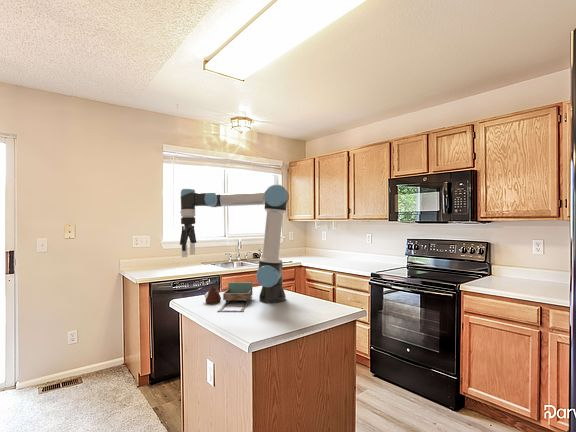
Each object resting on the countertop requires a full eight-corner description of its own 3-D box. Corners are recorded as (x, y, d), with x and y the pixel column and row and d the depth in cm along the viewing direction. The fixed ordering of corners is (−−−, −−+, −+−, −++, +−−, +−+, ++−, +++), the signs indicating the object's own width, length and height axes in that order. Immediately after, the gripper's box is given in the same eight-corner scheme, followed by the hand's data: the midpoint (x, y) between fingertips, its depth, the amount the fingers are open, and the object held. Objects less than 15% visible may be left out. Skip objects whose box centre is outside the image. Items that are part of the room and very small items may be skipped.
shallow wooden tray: (252, 297, 193) (252, 282, 193) (248, 303, 179) (248, 287, 179) (228, 297, 193) (228, 282, 193) (223, 303, 179) (223, 287, 179)
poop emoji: (218, 304, 180) (218, 287, 180) (203, 304, 180) (203, 287, 180) (222, 300, 190) (222, 283, 190) (207, 300, 190) (207, 283, 190)
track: (252, 297, 196) (252, 296, 196) (243, 312, 164) (243, 311, 164) (230, 297, 196) (230, 296, 196) (217, 311, 164) (217, 311, 164)
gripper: (188, 217, 193) (189, 253, 193) (173, 216, 169) (173, 258, 168) (201, 217, 193) (201, 253, 193) (187, 216, 168) (188, 258, 168)
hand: (188, 255), depth 181 cm, fingers open, 13 cm apart
